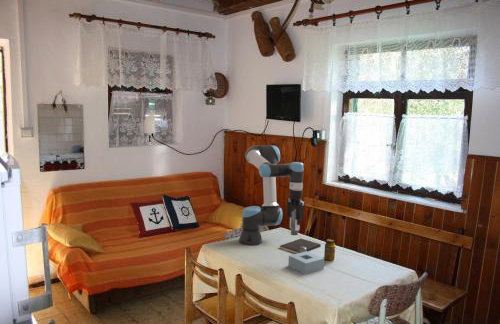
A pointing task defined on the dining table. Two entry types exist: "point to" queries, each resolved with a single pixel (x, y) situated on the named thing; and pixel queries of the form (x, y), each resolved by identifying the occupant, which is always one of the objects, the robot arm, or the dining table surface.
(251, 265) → the dining table surface
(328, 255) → the condiment
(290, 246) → the hardcover book
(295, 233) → the long pin
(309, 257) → the hole block
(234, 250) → the dining table surface
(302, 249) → the short pin
